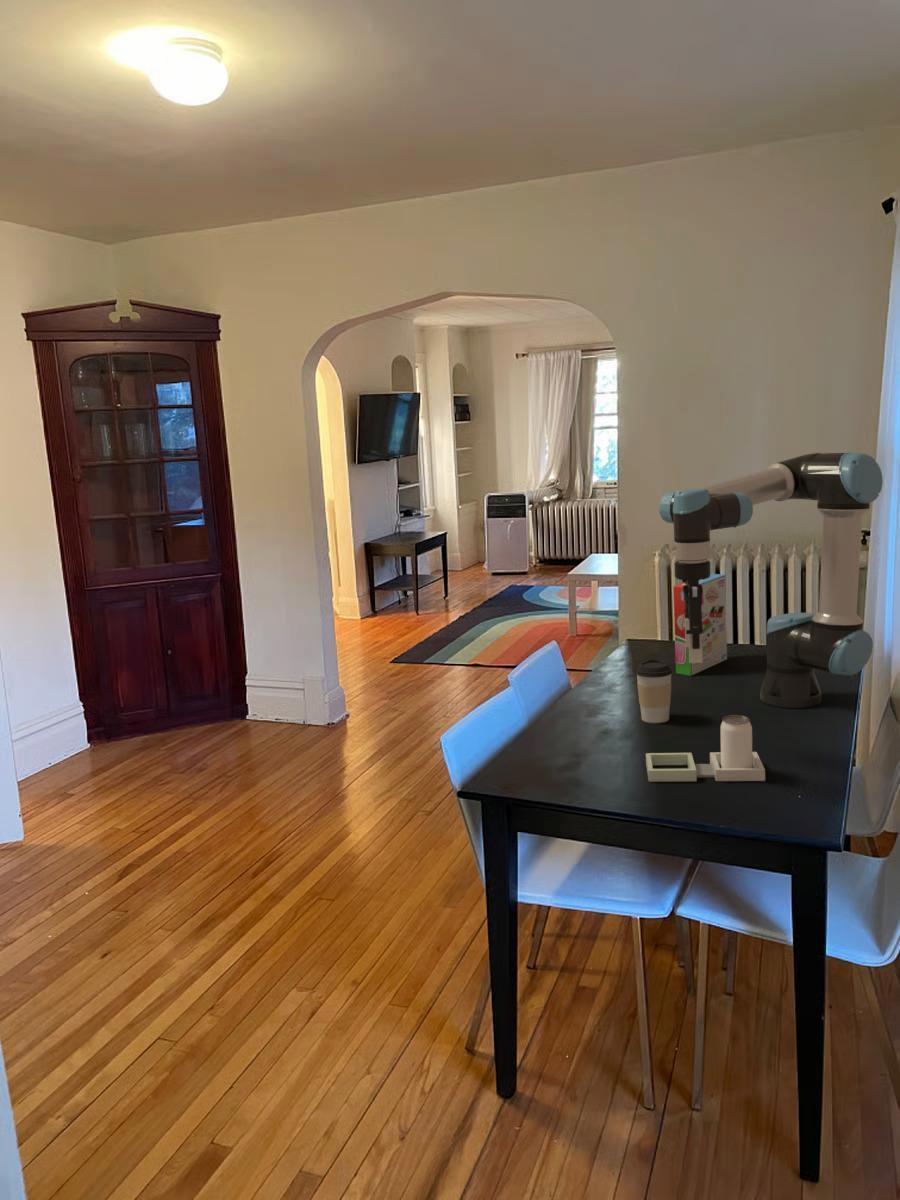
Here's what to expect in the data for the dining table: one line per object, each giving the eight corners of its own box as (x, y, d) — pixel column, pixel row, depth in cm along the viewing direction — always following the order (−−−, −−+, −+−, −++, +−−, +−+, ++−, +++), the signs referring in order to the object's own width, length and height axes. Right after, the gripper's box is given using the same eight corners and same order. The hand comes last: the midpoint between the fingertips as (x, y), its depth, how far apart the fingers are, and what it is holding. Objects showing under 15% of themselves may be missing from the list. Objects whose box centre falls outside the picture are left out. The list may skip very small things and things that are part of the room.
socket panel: (756, 762, 195) (756, 751, 194) (765, 780, 185) (765, 769, 184) (646, 763, 199) (645, 753, 198) (648, 781, 189) (648, 770, 188)
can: (735, 780, 186) (734, 726, 184) (714, 770, 192) (713, 718, 190) (759, 773, 189) (758, 720, 187) (738, 763, 195) (737, 712, 192)
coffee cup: (674, 724, 222) (672, 667, 219) (637, 724, 224) (635, 668, 221) (672, 712, 230) (670, 657, 227) (637, 712, 232) (635, 658, 229)
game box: (712, 657, 277) (710, 573, 272) (728, 660, 273) (726, 574, 268) (675, 673, 264) (672, 585, 258) (691, 676, 260) (688, 586, 254)
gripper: (672, 552, 204) (673, 640, 208) (677, 570, 180) (679, 670, 184) (705, 551, 203) (706, 640, 207) (715, 569, 179) (716, 669, 183)
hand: (693, 654), depth 196 cm, fingers open, 13 cm apart
